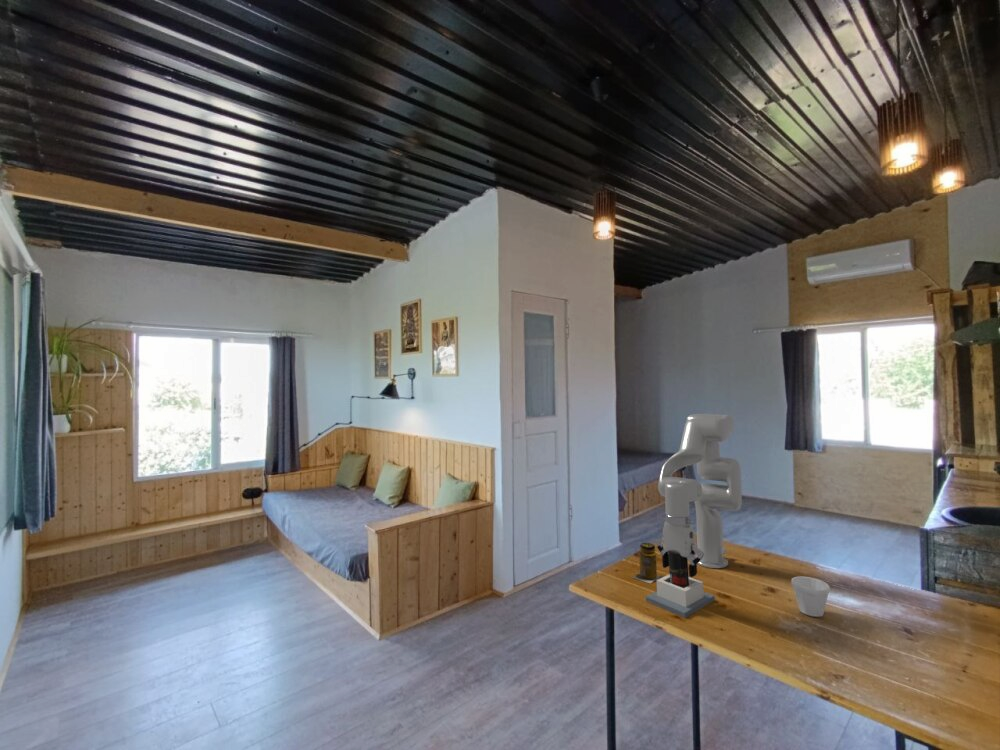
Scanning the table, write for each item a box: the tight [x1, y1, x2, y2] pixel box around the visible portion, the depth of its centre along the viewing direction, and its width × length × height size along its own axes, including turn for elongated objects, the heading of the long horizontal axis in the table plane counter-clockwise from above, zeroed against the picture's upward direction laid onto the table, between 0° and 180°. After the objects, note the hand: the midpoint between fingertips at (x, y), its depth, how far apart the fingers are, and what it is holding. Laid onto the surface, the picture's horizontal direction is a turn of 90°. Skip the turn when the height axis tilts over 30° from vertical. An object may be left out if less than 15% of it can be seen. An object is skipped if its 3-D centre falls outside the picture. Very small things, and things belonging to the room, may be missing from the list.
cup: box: [790, 576, 831, 618], centre depth 141 cm, size 10×10×9 cm
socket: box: [645, 573, 716, 619], centre depth 151 cm, size 18×14×6 cm
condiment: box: [632, 542, 662, 584], centre depth 170 cm, size 7×8×12 cm
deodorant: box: [668, 550, 690, 588], centre depth 151 cm, size 6×6×15 cm
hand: (679, 571), depth 151 cm, fingers open, 9 cm apart
